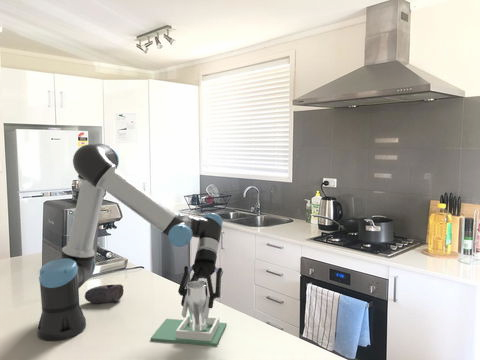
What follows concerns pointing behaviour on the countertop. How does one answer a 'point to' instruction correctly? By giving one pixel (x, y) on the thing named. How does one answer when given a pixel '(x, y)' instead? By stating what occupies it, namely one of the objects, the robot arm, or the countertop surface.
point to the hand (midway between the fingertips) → (194, 316)
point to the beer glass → (197, 305)
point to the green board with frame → (189, 332)
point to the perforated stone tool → (104, 294)
